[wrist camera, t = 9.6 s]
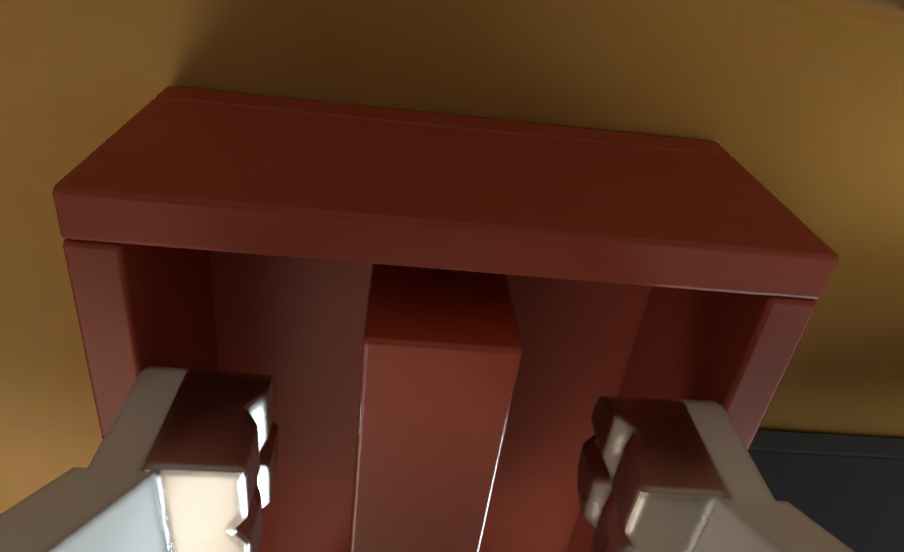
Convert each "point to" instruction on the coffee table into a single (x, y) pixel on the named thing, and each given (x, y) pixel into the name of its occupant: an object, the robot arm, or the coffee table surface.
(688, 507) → the robot arm
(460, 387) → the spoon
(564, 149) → the red bin
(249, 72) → the coffee table surface
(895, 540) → the blue bin
